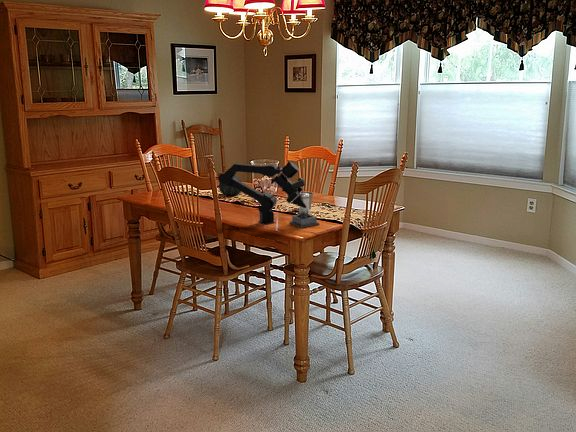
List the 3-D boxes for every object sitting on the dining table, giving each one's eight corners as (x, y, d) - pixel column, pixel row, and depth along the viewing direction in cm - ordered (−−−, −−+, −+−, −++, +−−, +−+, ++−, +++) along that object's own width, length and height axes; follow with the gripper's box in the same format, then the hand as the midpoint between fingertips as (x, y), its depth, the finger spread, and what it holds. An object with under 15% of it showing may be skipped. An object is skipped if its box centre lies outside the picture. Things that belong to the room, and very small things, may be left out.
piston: (300, 220, 293) (300, 195, 290) (297, 218, 298) (297, 193, 295) (310, 219, 294) (310, 194, 291) (307, 217, 299) (307, 192, 296)
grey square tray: (300, 227, 289) (300, 220, 288) (289, 223, 299) (289, 215, 298) (319, 224, 294) (319, 217, 294) (308, 220, 304) (308, 212, 303)
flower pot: (299, 210, 326) (299, 195, 324) (295, 207, 335) (294, 192, 333) (315, 209, 329) (315, 194, 327) (310, 205, 338) (310, 191, 335)
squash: (236, 182, 383) (223, 167, 374) (250, 186, 372) (237, 171, 363) (223, 199, 379) (210, 184, 370) (236, 203, 368) (223, 188, 359)
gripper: (292, 176, 282) (315, 199, 283) (299, 170, 300) (320, 192, 301) (277, 192, 286) (299, 214, 286) (284, 185, 303) (305, 206, 304)
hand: (306, 206), depth 294 cm, fingers closed on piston, 5 cm apart
